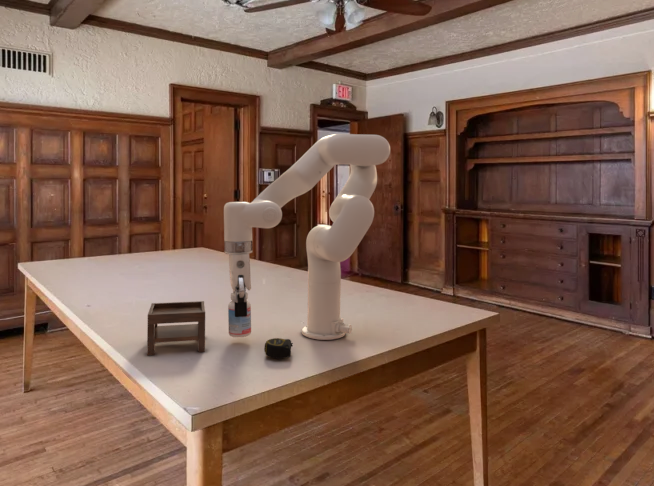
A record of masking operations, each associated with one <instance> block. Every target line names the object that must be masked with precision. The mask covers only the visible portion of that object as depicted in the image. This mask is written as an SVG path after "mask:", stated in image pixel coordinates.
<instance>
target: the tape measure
mask: <svg viewBox="0 0 654 486" xmlns="http://www.w3.org/2000/svg"><path fill="white" fill-rule="evenodd" d="M293 344H294V343H293V342H292V340H291V339H289V338H286V339H284V338H281V337H275V338H274V337H273V338H270V339H267V340H266V341H265V343H264V349H263V350H264V353H265V356H266V357H268V358H271V359H287V358H290V357H291V355H292V348H293V346H294V345H293Z"/></svg>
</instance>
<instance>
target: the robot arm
mask: <svg viewBox="0 0 654 486" xmlns="http://www.w3.org/2000/svg"><path fill="white" fill-rule="evenodd" d="M390 155H391V145H390V143H389V141H388V139H386V138H385V136H382V135H379V134H365V133H363V134H362V133H361V134H357V133H356V134H355V133H334V134H330V135H326V136H323V137H321V138H319V139H318V140H316V142H315V143H314V144H313V145H311V147H310V148H309V149H308V150H307V151H306V152H305V153H304V154H303V155H302V156H301V157H300V158H298V160H296V162H294V163H293V164H292V165H291V166H290V167H289V168H288V169H287V170H286V171H284V172H283V173H282V174H281V175H280V176H278V177H277V178H276V179H275V180H274V181H272V182H271V183H270V184H269V185H268V186H267V187H266V188H264V189H263V190H262V191H261V192H260V193H259V195H257V196H256V197H255V198H254V199H253V200H252V201H251V202H248V201H229V202H226V203H225V204H224V206H223V232H224V233H223V237H224V238H223V239H224V240H223V241H224V242H223V244H224V246H223V247H224V254H226V255H228V268H229V269H228V271H229V282H230V287H231V290H232V293H234V292H235V300H236V302H235V317H246V316H247V301H248V300H247V301H246V292H247V291H251V290H252V279H251V277H252V276H251V259H250V254H252V253H253V228H259V229H272V228H274V227H276V226H278V225H279V224H280V223H281V221H282V218H283V211H282V208H283V207H284V206H285V205H286V204H287V203H289V202H290V201H292V200H293V199H295V198H297V197H300V196H302V195H304V194H306V193H308V192H309V191H310V190H312V189H313V188H314V187H315V186H316V185H317V184H318V183H319V182H320V181H321V180H322V179H323V178H324V177H325V176H326V175H327V173H329V172H330V171H331V170H332V169H333V168H334V167H335V166H338V165H349V167H350V171H349V172H350V173H349V176H348V178H347V180H346V182H345V184H344V185H343V187H342V188H341V189H340V191H339V193H337V195H336V197H335V198H334V200H333V201H332V203H331V205H330V207H329V210H328V214H329V218H330V220H331V221H332V225H330V224H319V225H316V226H314V227H313V228H311V230H310V231H309V232H308V234H307V236H306V241H305V247H306V248H305V250H306V256H307V316H306V317H307V318H306V319H307V320H306V321H307V325H305V326H303V327H302V329H301V334H302V335H303V336H304V337H306V338H308V339H312V340H317V341H318V340H320V341H331V340H333V341H334V340H338V339H341V338H343V337H344V336H345V335H346V334H349V335H350V334H352V331H353V326H352V324H347V323H344V317H343V318H342V317H341V294H342V293H341V291H342V289H341V288H342V287H341V285H342V284H341V283H342V269H341V263H343V262H344V261H346V260H348V259H349V258H350V257H351V256H352V255H353V253H354V252H355V251H356V250H357V247H358V246H359V245H360V243H361V241H362V240H363V239H364V237H365V235H366V234H367V232H368V231H369V229H370V227H371V225H372V224H373V221H374V218H375V207H374V204H373V202H372V201H371V200H370V199H371V197H372V196H373V194H374V192H375V190H376V188H377V184H378V172H377V171H378V170H377V166H379V165H382V164H383V163H385V162H387V160H388V159H389V158H390ZM246 290H247V291H246ZM237 293H238V294H237Z"/></svg>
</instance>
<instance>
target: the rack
mask: <svg viewBox="0 0 654 486" xmlns="http://www.w3.org/2000/svg"><path fill="white" fill-rule="evenodd" d="M181 323H186V324H181ZM187 323H189V324H187ZM162 324H164V325H162ZM165 324H166V325H165ZM167 324H168V325H167ZM170 324H171V325H170ZM146 330H147V331H146V333H147V336H146V337H147V338H146V339H147V341H146V344H147V347H146V350H147V351H146V356H155V346H156V345H155V344H157V343H173V342H188V341H189V342H190V341H198V343H197V344H198V348H197V349H198V350H197V351H198V353H205V352H206V307H205V301H204V300H200V301H197V300H196V301H176V302H175V301H174V302H151V304H150V307H149V309H148V313H147V329H146Z"/></svg>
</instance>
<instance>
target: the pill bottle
mask: <svg viewBox="0 0 654 486" xmlns="http://www.w3.org/2000/svg"><path fill="white" fill-rule="evenodd" d="M237 294H238V293H237ZM248 299H249V293H248V292H247V291H246V301H247V316H246V317H235V302H236V300H235V292H234V293H233V292H231V293H230V300H231V301H230V302H229V303H228V306H227V311H228V313H227V315H228V322H227V323H228V336H230V337H232V338H246V337H248V336H250V335H251V334H252V308H251V302H250V301H249V300H248Z"/></svg>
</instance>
